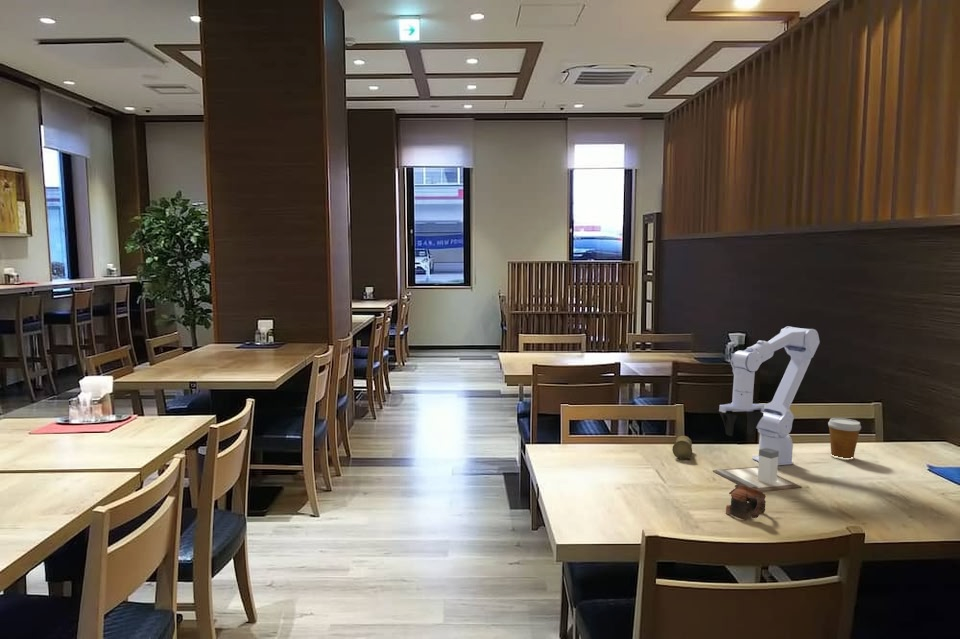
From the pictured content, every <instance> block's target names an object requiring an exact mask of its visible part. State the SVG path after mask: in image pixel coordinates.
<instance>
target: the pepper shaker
mask: <svg viewBox="0 0 960 639" xmlns="http://www.w3.org/2000/svg"><path fill="white" fill-rule="evenodd" d="M692 442H693V441H692V439H691V438H689V436H686V435H680V436H678V437H677V438H676V439H675V443H673V445H672V454H673V455H674V456H675V457H676V458H677V459H679V460H683V461H684V460H687V459H688V458H690V457H691V456H692V454H693V446H692V445H693V443H692Z"/></svg>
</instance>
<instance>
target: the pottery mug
mask: <svg viewBox="0 0 960 639" xmlns="http://www.w3.org/2000/svg"><path fill="white" fill-rule="evenodd" d="M734 487H735V488H734V489H732V490H731V491H730V492H728V495H730V496H731V497H730V498H731V499H730V504H726V507H725V514H726V515H729V516H733V517H735V518H738V519H741V520H742V521H747V519H748V516H750V517H751V518H752V519H757V518H759V516H760V515H761V514H765V513H766V512H765V511H766V497H767V495H766V493H764V492H760V491H759V490H756V489H754V488H751V487H748V486H744V485H738V484H735V485H734Z"/></svg>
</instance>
